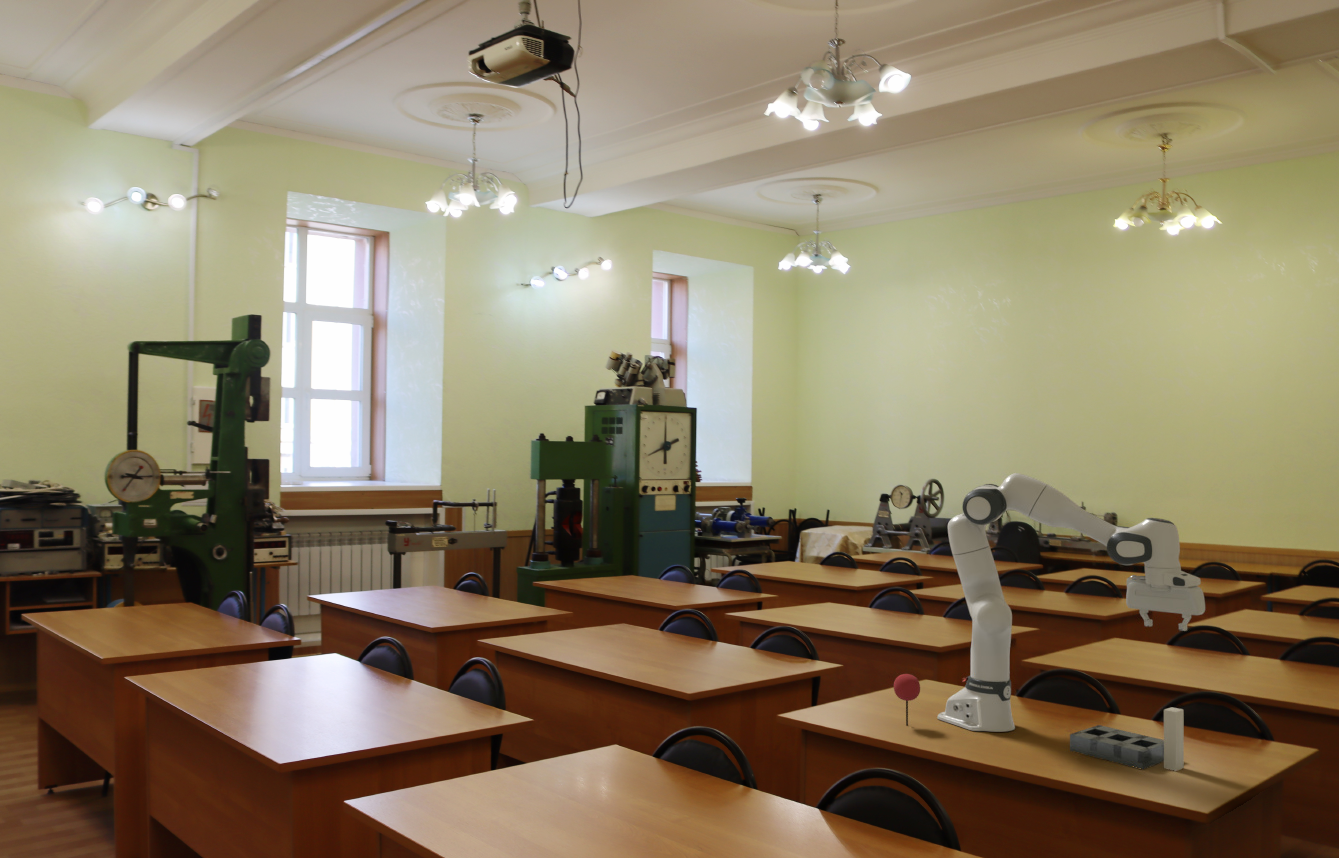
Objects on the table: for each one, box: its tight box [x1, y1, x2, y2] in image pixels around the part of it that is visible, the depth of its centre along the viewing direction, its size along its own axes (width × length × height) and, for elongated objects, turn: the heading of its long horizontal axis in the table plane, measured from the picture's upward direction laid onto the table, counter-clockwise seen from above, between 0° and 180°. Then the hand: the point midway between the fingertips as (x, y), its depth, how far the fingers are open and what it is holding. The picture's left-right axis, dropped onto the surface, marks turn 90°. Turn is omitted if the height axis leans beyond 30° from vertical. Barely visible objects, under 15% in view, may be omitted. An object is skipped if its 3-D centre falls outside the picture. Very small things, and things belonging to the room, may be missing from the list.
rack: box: [1069, 724, 1164, 770], centre depth 256 cm, size 16×20×4 cm
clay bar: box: [1163, 706, 1185, 772], centre depth 245 cm, size 4×3×15 cm, turn 129°
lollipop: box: [893, 673, 921, 726], centre depth 281 cm, size 8×8×15 cm
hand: (1165, 628), depth 259 cm, fingers open, 8 cm apart
